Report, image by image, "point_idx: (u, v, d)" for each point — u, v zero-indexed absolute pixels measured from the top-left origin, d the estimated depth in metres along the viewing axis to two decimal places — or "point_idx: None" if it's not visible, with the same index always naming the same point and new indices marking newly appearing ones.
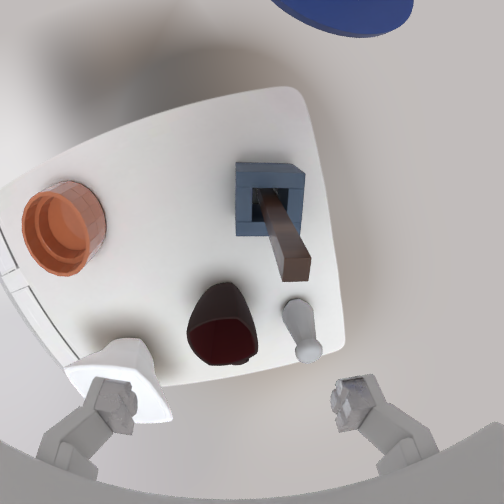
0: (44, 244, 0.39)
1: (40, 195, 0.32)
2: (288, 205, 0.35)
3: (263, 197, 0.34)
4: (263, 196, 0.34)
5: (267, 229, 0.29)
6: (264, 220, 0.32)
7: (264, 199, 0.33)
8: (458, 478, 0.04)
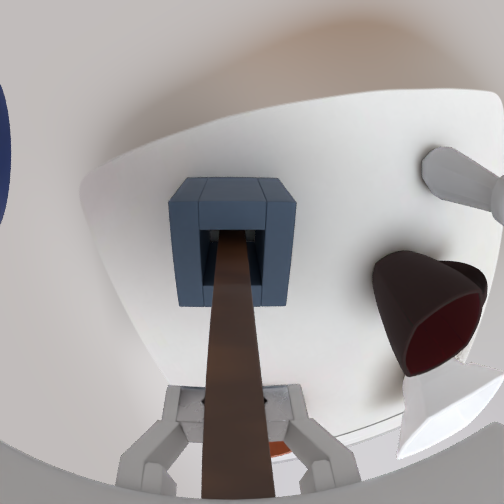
0: None
1: None
2: (232, 228, 0.19)
3: None
4: None
5: None
6: None
7: None
8: (458, 478, 0.04)
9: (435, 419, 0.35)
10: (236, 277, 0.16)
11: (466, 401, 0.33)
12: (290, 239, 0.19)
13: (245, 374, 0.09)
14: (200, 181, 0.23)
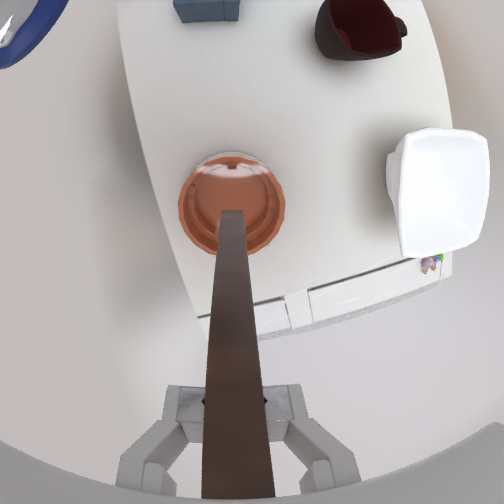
0: (249, 236, 0.43)
1: (182, 216, 0.37)
2: None
3: None
4: None
5: None
6: None
7: None
8: (458, 478, 0.04)
9: (436, 225, 0.38)
10: (236, 277, 0.15)
11: (464, 202, 0.35)
12: None
13: (245, 374, 0.09)
14: None
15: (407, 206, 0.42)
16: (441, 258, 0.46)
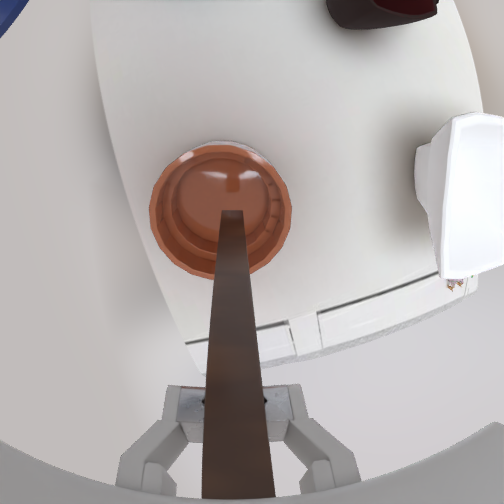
0: None
1: (154, 226, 0.28)
2: None
3: None
4: None
5: None
6: None
7: None
8: (458, 478, 0.04)
9: (474, 236, 0.28)
10: (236, 277, 0.16)
11: None
12: None
13: (245, 374, 0.09)
14: None
15: None
16: None
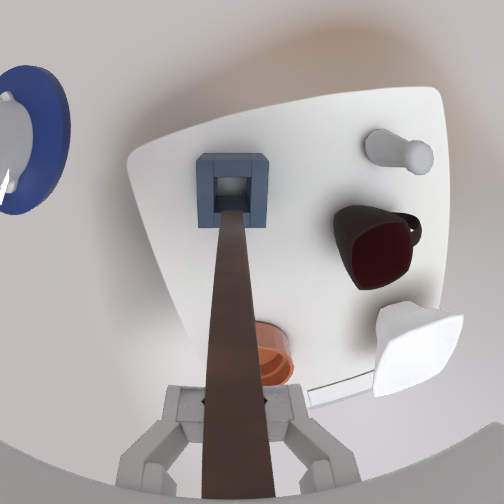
0: (266, 375, 0.54)
1: None
2: (232, 175, 0.32)
3: None
4: None
5: None
6: None
7: None
8: (458, 478, 0.04)
9: (408, 363, 0.49)
10: (236, 277, 0.15)
11: (435, 347, 0.46)
12: (266, 183, 0.32)
13: (245, 374, 0.09)
14: (212, 154, 0.36)
15: None
16: None
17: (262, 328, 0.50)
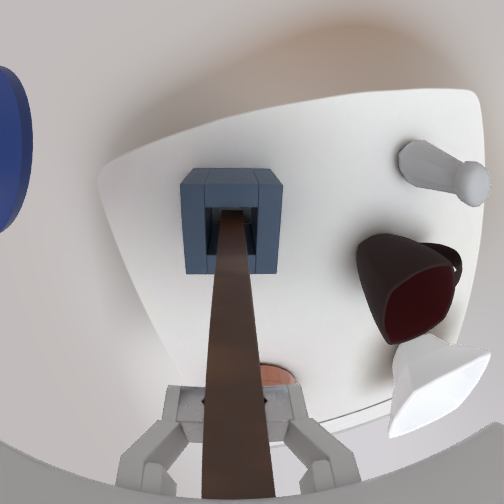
0: None
1: None
2: (231, 205, 0.23)
3: None
4: None
5: None
6: None
7: None
8: (458, 478, 0.04)
9: (425, 400, 0.40)
10: (236, 277, 0.15)
11: (455, 382, 0.38)
12: (278, 215, 0.24)
13: (245, 374, 0.09)
14: (204, 171, 0.27)
15: None
16: None
17: (267, 372, 0.41)
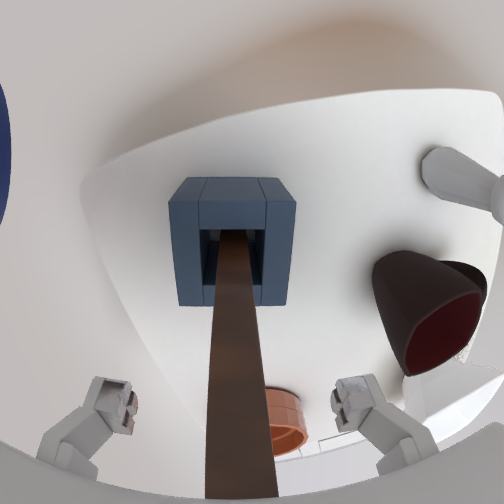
0: (274, 439, 0.41)
1: None
2: (231, 227, 0.19)
3: None
4: None
5: None
6: None
7: None
8: (458, 478, 0.04)
9: (435, 419, 0.36)
10: (238, 277, 0.16)
11: (466, 400, 0.33)
12: (290, 239, 0.19)
13: (247, 373, 0.10)
14: (200, 181, 0.23)
15: None
16: None
17: (271, 397, 0.37)
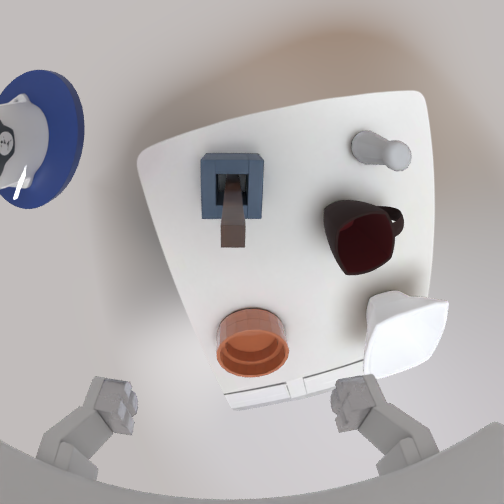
0: (263, 360, 0.59)
1: (219, 359, 0.53)
2: (232, 173, 0.36)
3: None
4: None
5: None
6: None
7: None
8: (458, 478, 0.04)
9: (397, 350, 0.53)
10: (234, 190, 0.33)
11: (423, 334, 0.51)
12: (261, 179, 0.37)
13: (237, 206, 0.27)
14: (214, 154, 0.41)
15: (379, 332, 0.58)
16: None
17: (259, 314, 0.54)
